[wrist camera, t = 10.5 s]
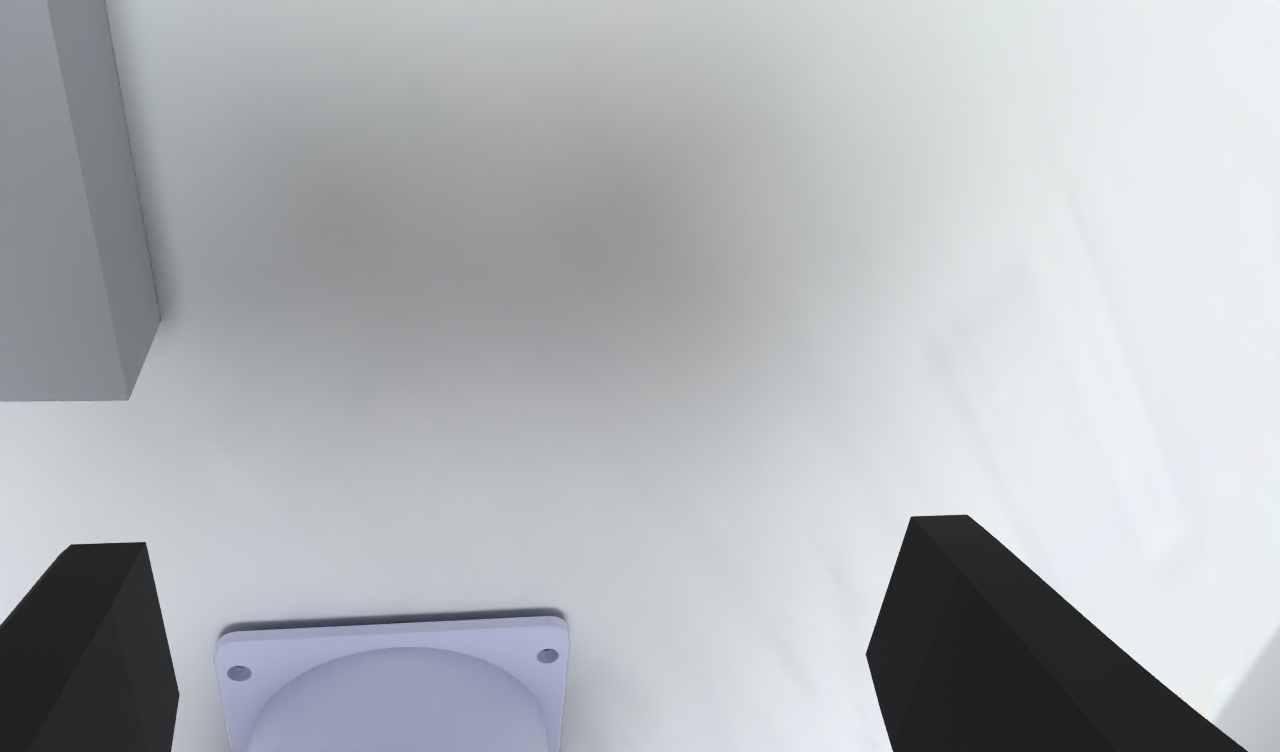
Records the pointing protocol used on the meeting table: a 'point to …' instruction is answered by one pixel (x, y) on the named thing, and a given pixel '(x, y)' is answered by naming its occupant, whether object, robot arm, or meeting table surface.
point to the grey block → (68, 211)
